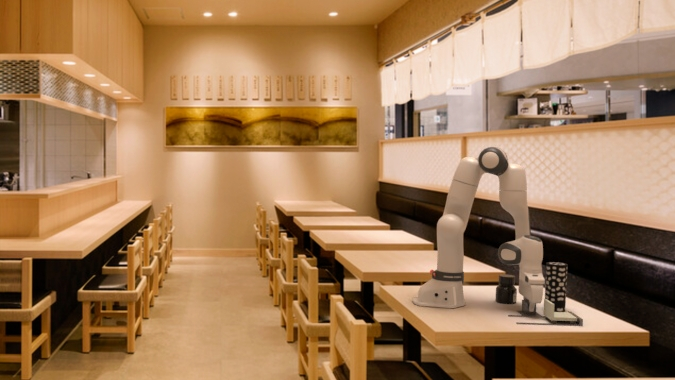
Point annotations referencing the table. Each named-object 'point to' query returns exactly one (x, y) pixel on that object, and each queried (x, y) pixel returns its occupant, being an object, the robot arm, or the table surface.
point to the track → (578, 323)
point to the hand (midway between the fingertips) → (528, 309)
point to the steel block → (525, 308)
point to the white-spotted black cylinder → (556, 285)
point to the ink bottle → (506, 290)
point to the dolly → (557, 314)
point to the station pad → (527, 314)
